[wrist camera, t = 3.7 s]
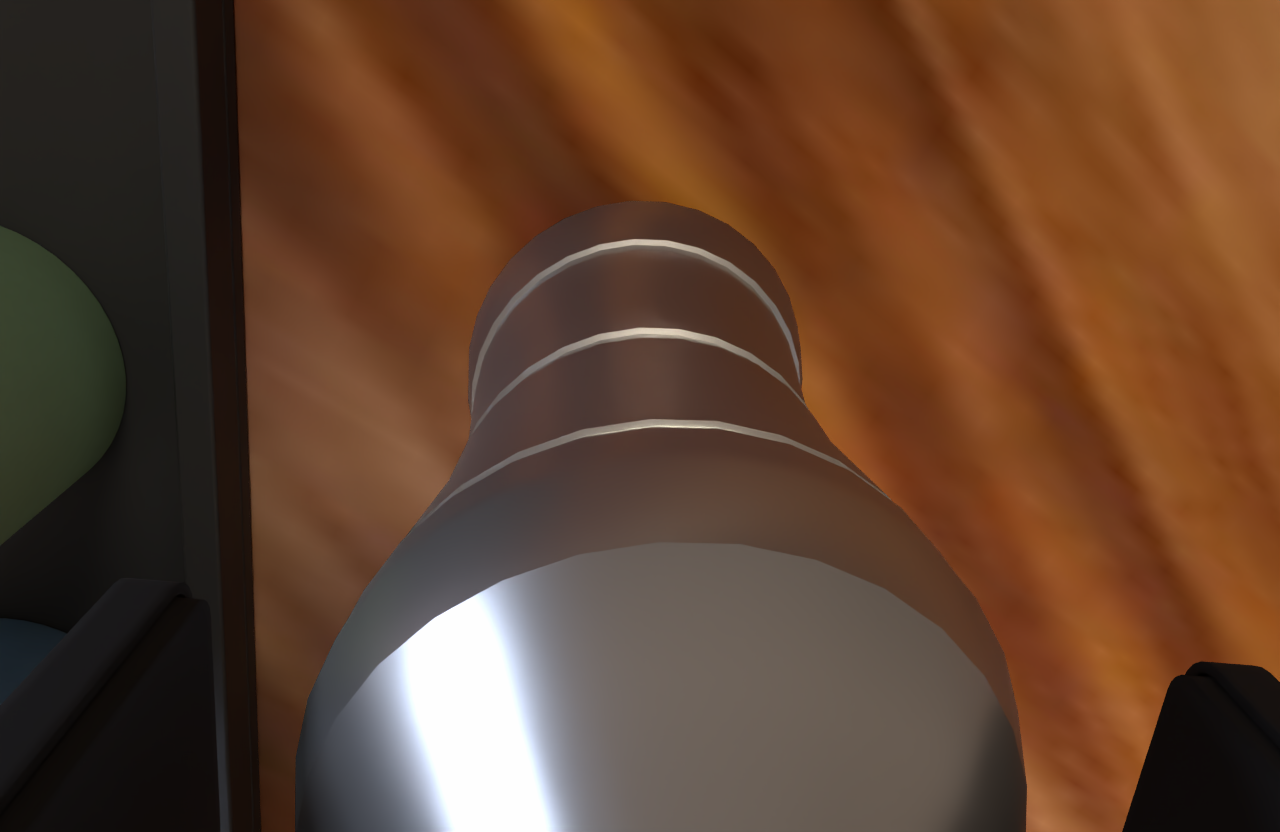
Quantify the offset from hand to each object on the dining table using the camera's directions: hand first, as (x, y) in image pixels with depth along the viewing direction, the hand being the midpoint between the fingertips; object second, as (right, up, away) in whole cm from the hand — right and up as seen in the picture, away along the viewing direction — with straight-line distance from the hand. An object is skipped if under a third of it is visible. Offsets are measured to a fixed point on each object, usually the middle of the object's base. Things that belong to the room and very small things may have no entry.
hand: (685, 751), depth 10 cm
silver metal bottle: (-1, +5, +13) cm, 14 cm away
